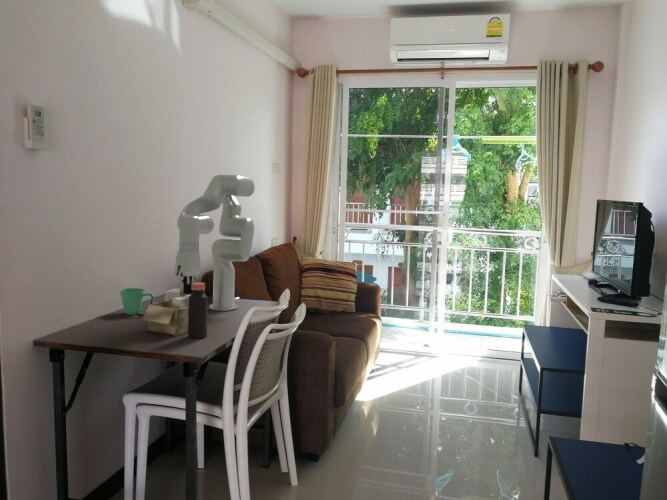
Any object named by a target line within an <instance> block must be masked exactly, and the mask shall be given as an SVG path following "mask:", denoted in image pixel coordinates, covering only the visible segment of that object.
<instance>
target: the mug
mask: <svg viewBox="0 0 667 500" xmlns="http://www.w3.org/2000/svg"><path fill="white" fill-rule="evenodd" d="M145 291H146V290H145V289H143V288H140V287H139V288H137V287H131V288H130V287H128V288H123V289H122V288H121V289H120V290H119V294H120V297H121V298H120V299H121V302H122V306H123V308H124V312H125V314H126V315H130V316H131V315H134V316H135V315H138V314H139V313H142V312H146V310H147V308H148V305H147V306H146V307H144V308H142V305H143V300H144V297H146V296H149V297H150V298H151V302H150V303H149V304H153V303H155V299H156V298H155V297H156V296H155V294H154V293H153V292H152V291H151V292H150V291H148V292H145Z"/></svg>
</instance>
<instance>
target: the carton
mask: <svg viewBox="0 0 667 500" xmlns="http://www.w3.org/2000/svg"><path fill="white" fill-rule="evenodd" d="M190 295H191V294H190ZM190 295H186V296H181V297H177V298H172V299H170V300H166V301H165V300H162V301H159V302H158V301H157V302H154V303H153V304H150V303H149V304H150V305H155V306H161V307H166V308H172V309H175V310H174V312H173V315H172V317H171V320H170V322H169V325H168V324H163V323H158V322H153V321H148V320H147V331H149V332H154V333H158V334H163V335H166V336H167V335H168V336H173V337H179V336H181V335H185V334H188V310H189V296H190ZM149 304H148V305H147V306H149Z"/></svg>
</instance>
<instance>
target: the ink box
mask: <svg viewBox="0 0 667 500" xmlns="http://www.w3.org/2000/svg"><path fill="white" fill-rule="evenodd" d="M177 297H180V287H179V288H178V287H177V288H172V289H168V290H166V291H164V301H166V300H170V299H172V298H177Z"/></svg>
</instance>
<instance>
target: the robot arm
mask: <svg viewBox="0 0 667 500" xmlns="http://www.w3.org/2000/svg"><path fill="white" fill-rule="evenodd" d="M255 187H256V186H255V182H254V180H253V179H252V178H250V177H246V176H243V175H238V174H216V175H214V176H213V177H212V179H211V180H210V182H209V184H208V186H207V187H206V189H205V190H204V193H203V194H202V195H201V196H199V197H197V198H195V199H194V200H191V201H190V202H189V203H187V204H186V205H185V206H184V208H183V209H182V210H181V212H180V214H179V216H178V218H177V223H176V224H177V225H176V226H177V228H178V230H179V236H178V237H179V239H178V244H179V245H178V250H177V252H176V257H175V265H174V275H175V276H177V280H179V281H181V283H183V284H184V285H183V293H184V294H192V289H191V283H195V280H196V279H197V278H199V274H201V253H200V234H201V235H206V234H210V233H211V232H212V231H213V230H214V227H215V222H214V219H212V217H211V216H209V215H205V213H210V212H212V211H213V212H214V211H215V210H218V209H220V207H221V206H222V210H221V214H220V215H221V216H220V221H219V228H218V230H219V235H220V236H222V237H225V238H220V239H216V240H215V241H214V242H213V243H212V244H211V254H212V263H213V275H212V276H213V279H212V280H213V281H212V282H213V283H212V286H213V287H212V288H213V290H212V303H211V304H210V305H208V306H209V307H208V308H209V309H210V310H213V311H217V312H218V311H219V312H221V311H223V312H227V311H228V312H229V311H234V310H237V309H238V306H239V305H237V304H236V303H237V302H240V297H239V296H237V297H235V289H236V288H235V287H236V286H235V284H236V282H235V281H236V279H235V278H236V270H235V267H234V264H233V263H232V262H241V263H242V262H247V261H248V260H249V259H250V257H251V252H252V247H253V242H254V237H255V235H254V234H255V224H254V223H255V222H254V221H253V220H252V218H249V217H246V216H241V214H242V206H241V204H240V203H241V202H239V200H238V199H237V197H245V198H246V197H251V196H252V195H253V194H254V192H255ZM228 238H233V239H228ZM234 238H236V239H234ZM239 239H240V240H239Z"/></svg>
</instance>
